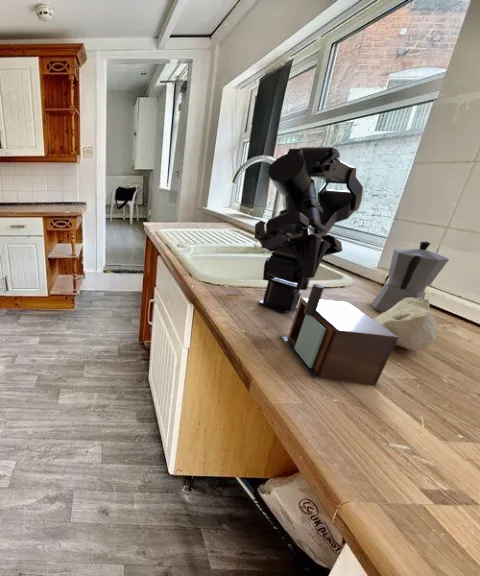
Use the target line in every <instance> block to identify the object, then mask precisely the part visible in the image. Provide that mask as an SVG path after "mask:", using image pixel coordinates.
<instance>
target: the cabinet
mask: <svg viewBox="0 0 480 576" xmlns="http://www.w3.org/2000/svg"><path fill="white" fill-rule="evenodd" d="M308 298H309V297H308ZM308 298H307V297H300V298H299V301H298V304H297V307H298V308H297V309H296V311H295V314H294V317H293V319H292V324H291V327H290V330H289V332H288V335H287V336H286V335H280V338H281V340H282V341H283V342H284V343H285V345H286V346H287V348H288V349H289V350H290V351H291V353H292V354H293V356H294V357H295V358H296V359H297V361H298V362H299V363H300V364H301V366H302V367H303V368H304V370H305V371H306V372H307V373H308V375H309V376H310V377H311V378H318V377H319V378H320V379H326V380H334V381H341V382H348V383H349V382H350V383H356V384H365V385H372V386H376V385H377V382H378V381H379V379H380V377H381V375H382V374H383V371H384V368H385V367H386V365H387V362H388V360H389V358H390V356H391V355H392V352H393V350H394V348H395V346H396V342H397V340H398V338H399V337H398V336H396V335H395V334H393V333H392V332H390V331H389V330H387V329H386V328H385V327H383V326H382V325H380V324H379V323H377V322H376V321H374V320H373V319H374V318H371V317H370V316H369V315H367V314H366V313H364V312H363V311H361V309H358V308H357V307H356V306H354V305H352V304H351V303H349V302H348V301H339V300H329V299H320V301H319V304H318V306H317V309H316V312H315V315H314V316H313V317H314V318H315V319H316V320H317V321H318V322H319V323H320V324H321V325H322V326H323V327H325V328H326V331H325V334H324V337H323V339H322V342H321V345H320V347H319V350H318V353H317V355H316V358H315V361H314V363H313V366H312V368H309V367H308V365H307V364H306V363H305V362H304V360H303V359H302V358H301V357H300V355H299V354H298V353H297V352H296V350H295V349H294V348H295V345H296V342H297V339H298V336H299V333H300V330H301V327H302V324H303V321H304V318H305V315H306V314H304V310H305V307H306V304H307V301H308Z"/></svg>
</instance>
